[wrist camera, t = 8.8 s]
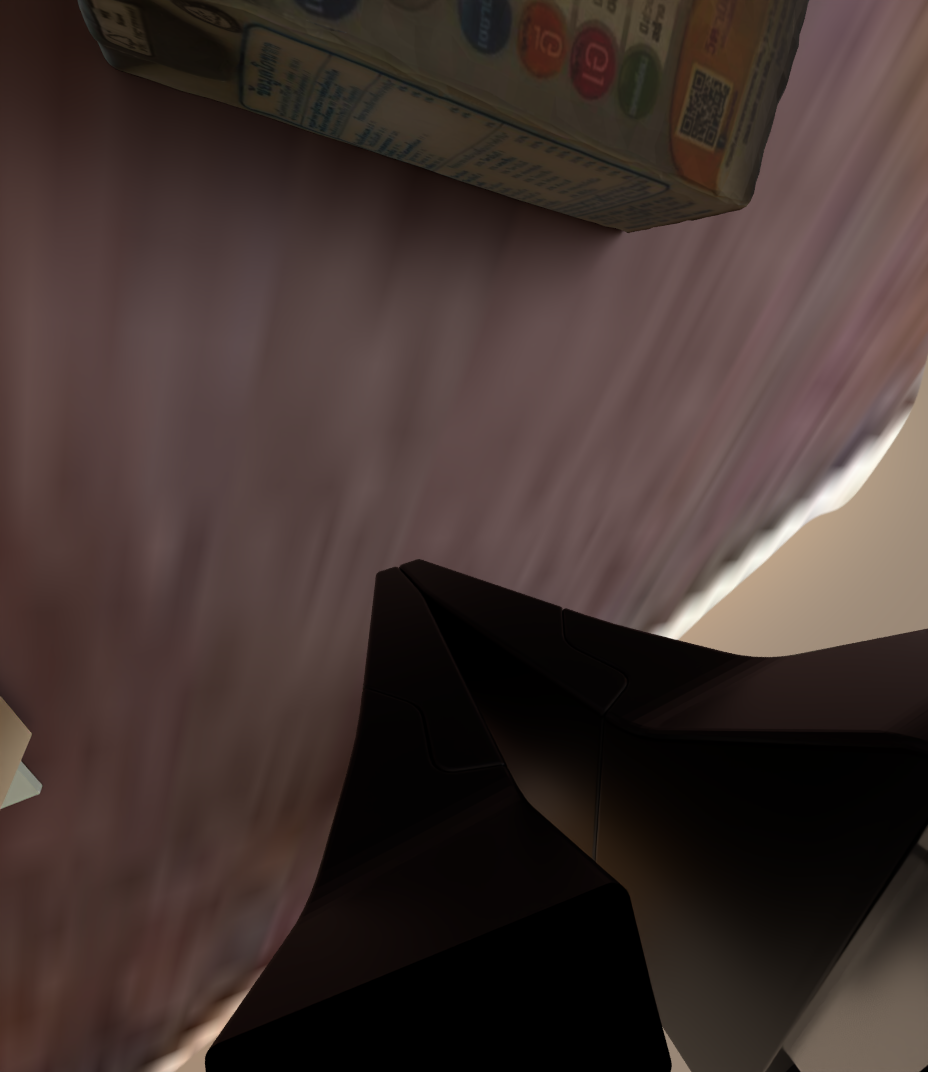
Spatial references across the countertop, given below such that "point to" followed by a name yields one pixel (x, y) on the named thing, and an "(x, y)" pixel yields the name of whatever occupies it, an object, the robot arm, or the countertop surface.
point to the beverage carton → (497, 88)
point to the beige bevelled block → (10, 746)
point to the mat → (22, 786)
